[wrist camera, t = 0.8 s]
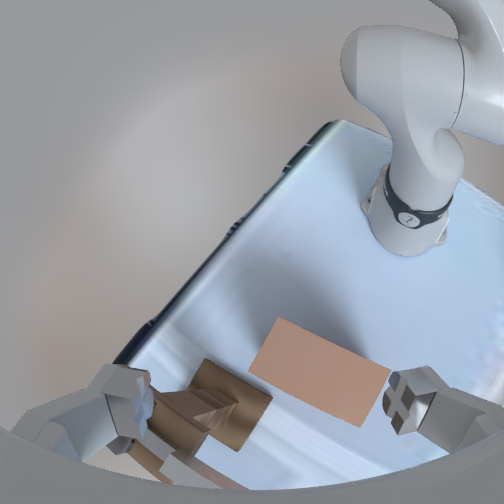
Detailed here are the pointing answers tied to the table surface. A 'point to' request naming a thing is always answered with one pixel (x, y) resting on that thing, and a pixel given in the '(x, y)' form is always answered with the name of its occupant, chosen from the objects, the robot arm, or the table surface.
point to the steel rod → (185, 465)
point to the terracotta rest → (319, 372)
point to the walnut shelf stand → (199, 416)
